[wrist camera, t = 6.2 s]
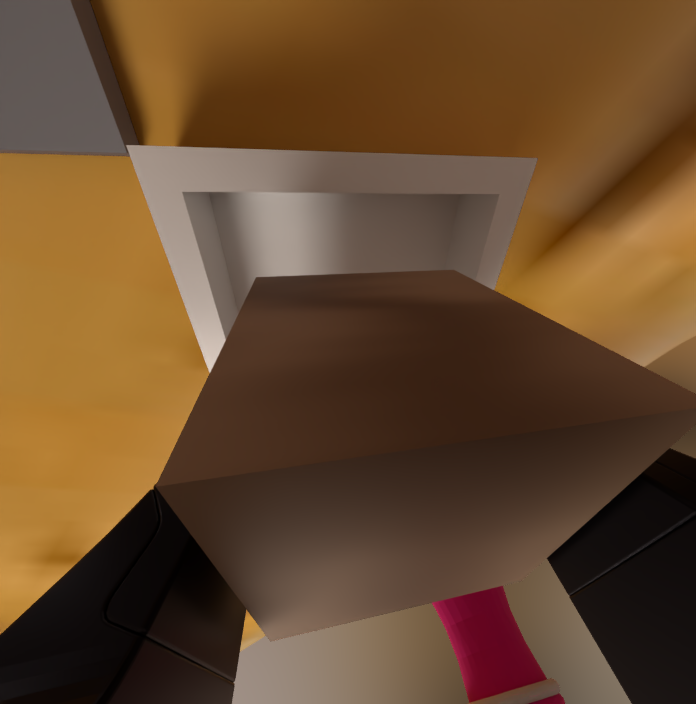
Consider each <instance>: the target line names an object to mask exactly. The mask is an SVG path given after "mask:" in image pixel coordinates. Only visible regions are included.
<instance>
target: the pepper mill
mask: <svg viewBox="0 0 696 704" xmlns="http://www.w3.org/2000/svg"><path fill="white" fill-rule="evenodd" d="M432 604H433V606H434V607H435V609H436V611H437V613H438V615H439V617H440V619H441V621H442V623H443V624H444V627H445V629H446V631H447V633H448V636H449V639H450V641H451V644H452V646H453V649H454V652H455V654H456V657H457V660H458V663H459V666H460V670H461V674H462V677H463V681H464V684H465V688H466V691H467V695H468V699H469V703H467V704H565V702H564V699H563V697H562V696H561V695H560V694H559V692H560V687H559V684H558V683H557V681H556V680H554V679H552V678H550V679H547V678H546V677H545V675H544V673H543V671H542V670H541V668H540V666H539V664H538V663H537V661H536V660H535V658H534V656H533V654H532V653H531V651H530V649H529V647H528V646H527V644H526V642H525V640H524V638H523V636H522V634H521V632H520V630H519V627H518V625H517V623H516V621H515V619H514V617H513V615H512V612H511V610H510V607H509V604H508V601H507V598H506V595H505V592H504V589H503V586H499V587H495V588H491V589H487V590H483V591H479V592H474V593H470V594H466V595H462V596H458V597H454V598H449V599H445V600H441V601H437V602H433V603H432Z"/></svg>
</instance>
